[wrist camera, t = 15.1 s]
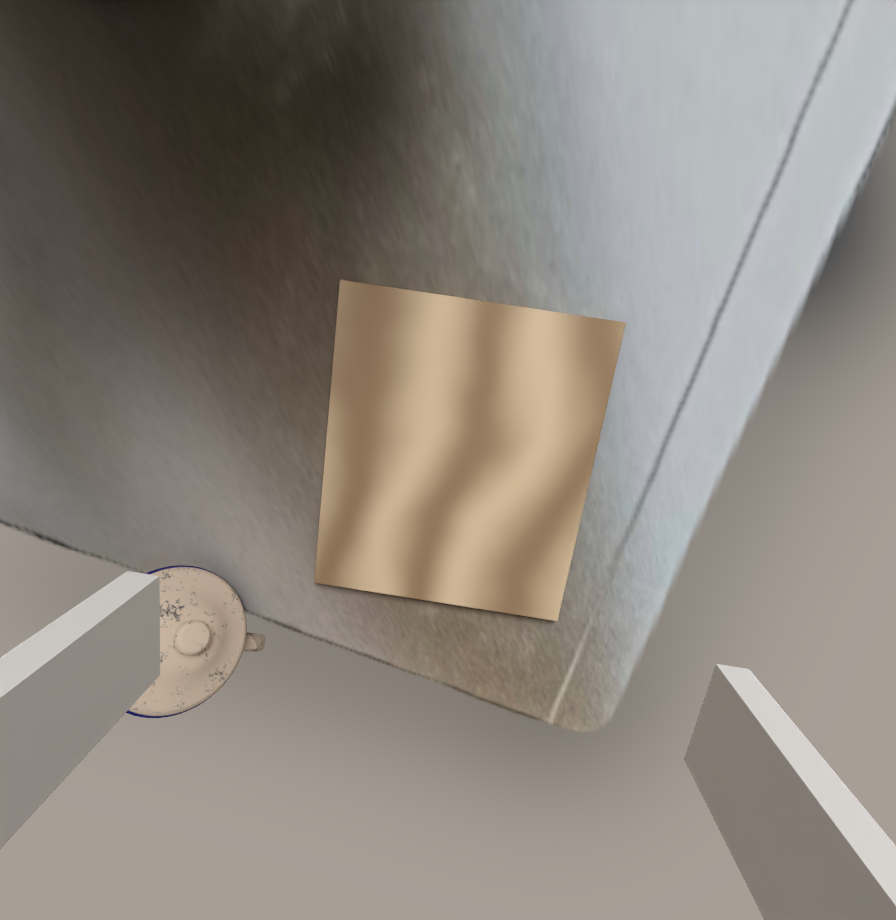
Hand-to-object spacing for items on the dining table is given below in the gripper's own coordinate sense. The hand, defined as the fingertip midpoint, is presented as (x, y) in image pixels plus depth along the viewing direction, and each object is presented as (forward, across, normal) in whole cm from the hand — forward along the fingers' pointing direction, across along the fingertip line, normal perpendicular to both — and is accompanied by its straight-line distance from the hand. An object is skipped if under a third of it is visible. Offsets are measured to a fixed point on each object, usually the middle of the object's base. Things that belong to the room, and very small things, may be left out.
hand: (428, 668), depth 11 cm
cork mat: (+21, 0, 0) cm, 21 cm away
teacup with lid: (+22, -21, -18) cm, 35 cm away
